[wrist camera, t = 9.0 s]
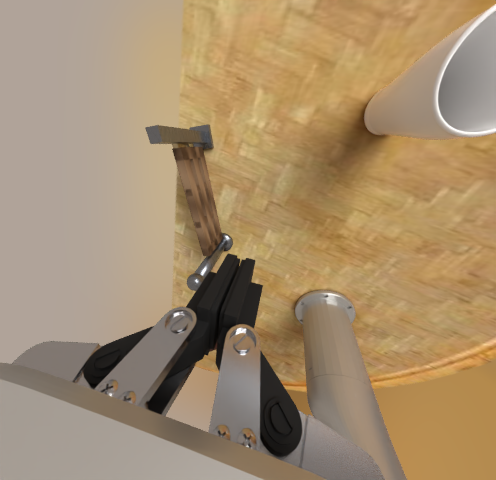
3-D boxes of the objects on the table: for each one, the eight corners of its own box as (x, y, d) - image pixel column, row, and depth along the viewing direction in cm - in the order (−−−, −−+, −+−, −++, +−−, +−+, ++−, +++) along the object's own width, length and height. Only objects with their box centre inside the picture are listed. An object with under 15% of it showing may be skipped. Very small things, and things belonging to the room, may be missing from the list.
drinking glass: (344, 125, 24) (404, 105, 12) (386, 64, 21) (536, -61, 8) (385, 150, 25) (487, 158, 12) (432, 95, 21) (647, 21, 8)
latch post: (215, 156, 30) (175, 163, 20) (197, 159, 31) (150, 166, 20) (209, 124, 28) (161, 113, 18) (191, 128, 29) (134, 119, 18)
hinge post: (234, 249, 38) (207, 298, 26) (217, 249, 39) (183, 296, 27) (231, 232, 36) (201, 277, 24) (213, 233, 37) (175, 276, 25)
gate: (222, 238, 36) (209, 256, 30) (217, 238, 36) (203, 256, 30) (202, 146, 28) (180, 147, 23) (195, 147, 29) (172, 148, 23)
